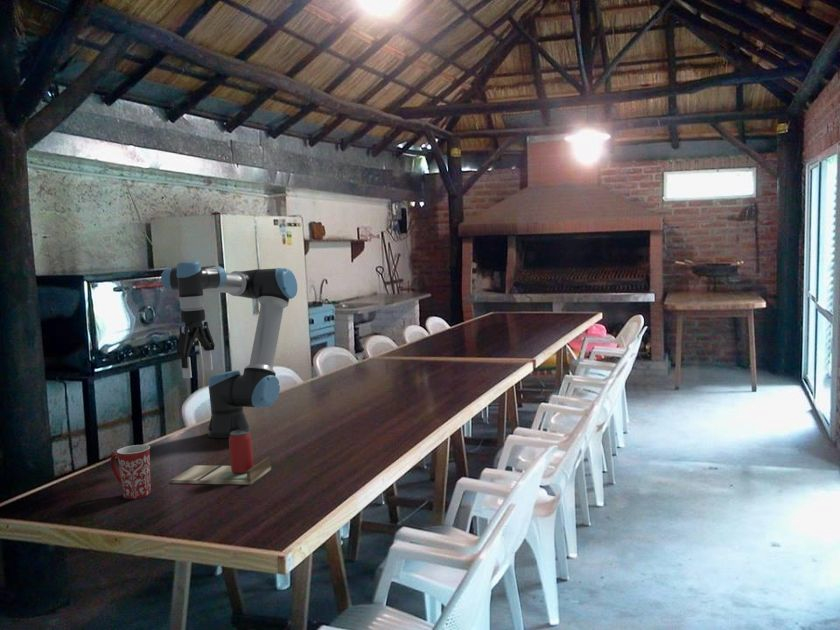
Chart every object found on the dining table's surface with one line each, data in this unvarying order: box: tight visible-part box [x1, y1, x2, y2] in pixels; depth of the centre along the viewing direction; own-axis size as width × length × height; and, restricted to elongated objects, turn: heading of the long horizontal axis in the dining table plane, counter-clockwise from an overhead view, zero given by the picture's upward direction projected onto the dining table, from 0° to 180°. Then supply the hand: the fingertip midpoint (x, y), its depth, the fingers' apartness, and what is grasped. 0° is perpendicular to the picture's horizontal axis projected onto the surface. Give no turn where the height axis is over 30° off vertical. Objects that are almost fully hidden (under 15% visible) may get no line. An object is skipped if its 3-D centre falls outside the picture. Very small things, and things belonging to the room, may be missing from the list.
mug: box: [109, 444, 152, 500], centre depth 209 cm, size 13×9×14 cm
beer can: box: [228, 430, 254, 474], centre depth 220 cm, size 7×7×12 cm
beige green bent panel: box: [170, 456, 272, 486], centre depth 222 cm, size 26×14×4 cm, turn 77°
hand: (198, 373), depth 239 cm, fingers open, 13 cm apart
